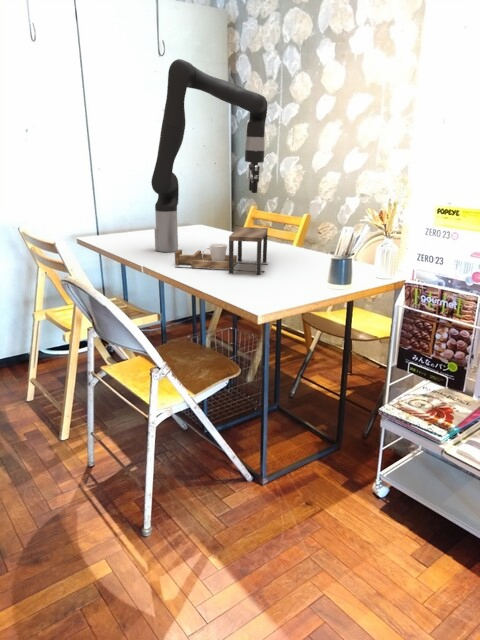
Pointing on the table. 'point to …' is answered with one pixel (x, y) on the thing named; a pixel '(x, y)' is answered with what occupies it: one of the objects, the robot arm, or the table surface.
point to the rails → (226, 269)
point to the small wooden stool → (250, 236)
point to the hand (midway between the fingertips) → (252, 191)
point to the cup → (217, 251)
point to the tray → (197, 257)
